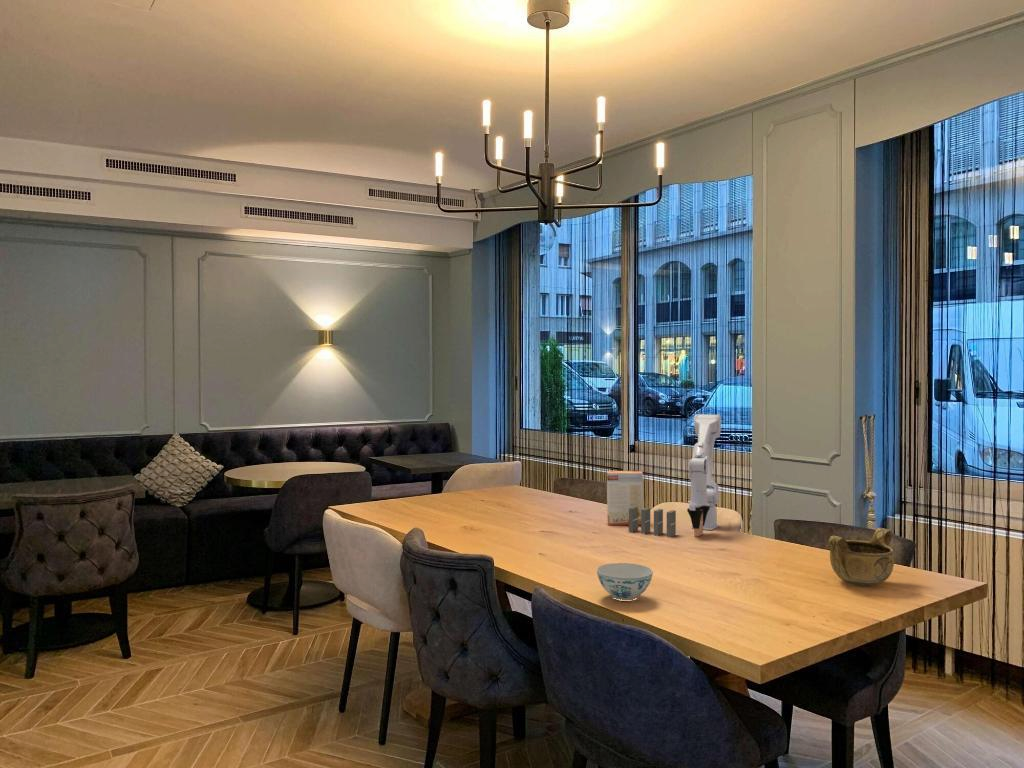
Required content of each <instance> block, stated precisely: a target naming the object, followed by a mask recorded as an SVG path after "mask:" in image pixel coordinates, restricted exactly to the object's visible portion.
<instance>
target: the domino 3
mask: <svg viewBox="0 0 1024 768" xmlns="http://www.w3.org/2000/svg"><path fill="white" fill-rule="evenodd" d="M676 519H677V513H676V510H674V509H672V510H668V511H667V512H666V537H667V536H668V537H667V538H673V537H674V536H676V535H677V531H676V530H677V528H676V527H677V524H676V523H677V520H676ZM675 534H676V535H675Z"/></svg>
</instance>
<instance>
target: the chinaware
mask: <svg viewBox="0 0 1024 768" xmlns="http://www.w3.org/2000/svg"><path fill="white" fill-rule="evenodd" d="M596 573H597V574H596V575H597V577H598V581H599V583H600V585H601V586H602V588H603V589H604V591H606V592H607V593H608V594H609V595H611V598H612V597H613V598H616V599H620V600H621V599H622V600H633V599H635V598H637V599H638V596H640V595H642V594H643V593H644V592H645V591H646V590H647V588H649V585H650V584H651V581H652V578H653V573H654V570H653V569H652V568H651V567H649V566H646V565H644V564H643V565H642V564H640V563H630V562H614V563H611V562H610V563H605V564H602V565H599V566H598V567H596ZM613 598H612V599H613Z"/></svg>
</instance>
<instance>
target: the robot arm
mask: <svg viewBox="0 0 1024 768" xmlns="http://www.w3.org/2000/svg"><path fill="white" fill-rule="evenodd" d="M693 429H694V431H695V435H696V437H697V442H696V443H695V444H694V445H693V451H692V456H691V458H690V459H689V462H688V469H689V478H690V500H688V501H687V504H689V508H687V509H686V510H687V513H688V515H689V518H690V521H691V525H692V526H691V529H694V528H696V529H699V527H700V520H701V516H702V513H703V530H706V531H712V530H715V529H716V528H718V527H719V526H720V525H719V524H717V523H718V520H717V518H718V515H717V514H718V511H717V507H716V506H715V505H718V503H719V499H720V496H719V495H720V494H719V485H718V483H716V482H715V481H714V480H713V477H712V476H713V464H714V462H713V461H714V451H715V450H714V448H715V447H714V446H715V441H716V439H718V438H719V437H720V435H721V429H722V416H721V415H720V414H719V413H718V414H700V413H699V414H698V413H696V414H695V415H694V416H693ZM699 509H701V510H699Z"/></svg>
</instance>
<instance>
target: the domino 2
mask: <svg viewBox="0 0 1024 768" xmlns="http://www.w3.org/2000/svg"><path fill="white" fill-rule="evenodd" d="M661 533H662V534H663V533H664V509H663V508H657V509H656V510H653V536H656V535H658V536H660V535H662V534H661ZM659 534H660V535H659Z"/></svg>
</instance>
